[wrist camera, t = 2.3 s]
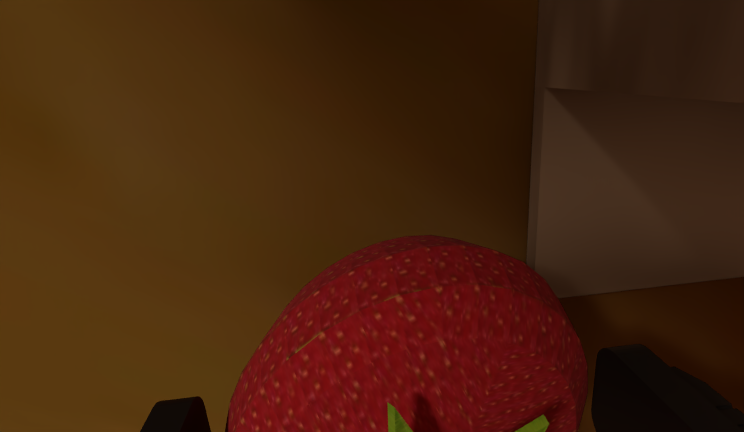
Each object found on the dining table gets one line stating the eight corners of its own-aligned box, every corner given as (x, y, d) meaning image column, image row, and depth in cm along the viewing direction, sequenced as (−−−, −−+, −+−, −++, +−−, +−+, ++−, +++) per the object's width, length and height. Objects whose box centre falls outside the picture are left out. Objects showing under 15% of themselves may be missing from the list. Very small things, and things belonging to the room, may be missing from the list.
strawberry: (520, 261, 14) (926, 665, 4) (352, 405, 15) (395, 966, 6) (394, 127, 12) (628, 330, 3) (217, 302, 13) (-49, 866, 4)
